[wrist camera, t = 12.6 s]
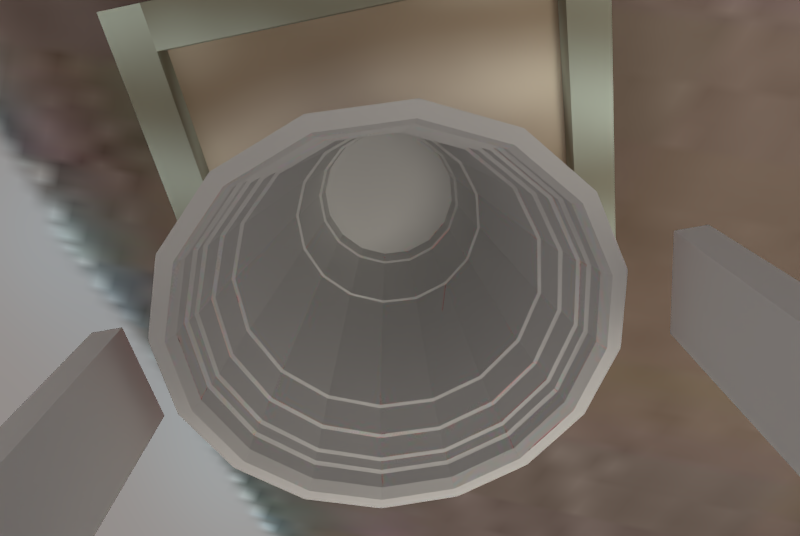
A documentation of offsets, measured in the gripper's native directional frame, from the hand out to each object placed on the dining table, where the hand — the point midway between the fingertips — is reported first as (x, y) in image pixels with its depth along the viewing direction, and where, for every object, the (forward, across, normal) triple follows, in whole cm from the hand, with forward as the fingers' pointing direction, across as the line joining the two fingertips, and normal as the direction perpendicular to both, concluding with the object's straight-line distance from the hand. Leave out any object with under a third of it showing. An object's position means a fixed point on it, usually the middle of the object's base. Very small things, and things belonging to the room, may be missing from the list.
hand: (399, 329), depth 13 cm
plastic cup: (+11, 0, 0) cm, 11 cm away
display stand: (+15, 0, 0) cm, 15 cm away
